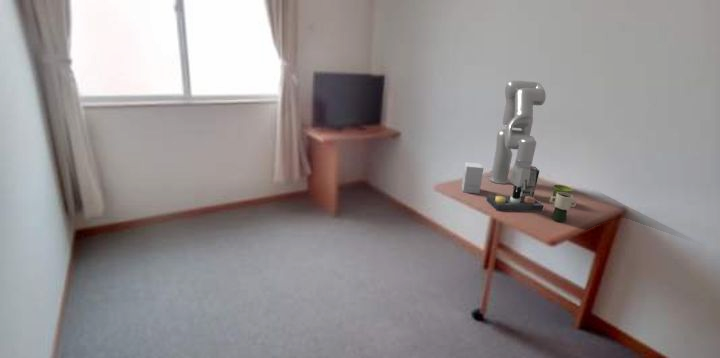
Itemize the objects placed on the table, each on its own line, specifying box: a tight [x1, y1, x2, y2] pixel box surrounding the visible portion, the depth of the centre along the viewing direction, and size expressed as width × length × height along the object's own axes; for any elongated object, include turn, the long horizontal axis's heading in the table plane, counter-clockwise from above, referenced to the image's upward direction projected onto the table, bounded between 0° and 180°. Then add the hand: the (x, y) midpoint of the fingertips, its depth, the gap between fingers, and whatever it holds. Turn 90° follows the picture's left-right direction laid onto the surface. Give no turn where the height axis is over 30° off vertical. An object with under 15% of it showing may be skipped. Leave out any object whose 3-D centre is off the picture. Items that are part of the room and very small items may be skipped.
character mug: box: [549, 192, 577, 223], centre depth 175 cm, size 11×7×13 cm, turn 71°
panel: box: [486, 195, 544, 212], centre depth 190 cm, size 12×24×3 cm, turn 96°
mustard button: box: [495, 195, 506, 203], centre depth 189 cm, size 5×5×4 cm
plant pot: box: [552, 184, 573, 201], centre depth 197 cm, size 9×9×9 cm
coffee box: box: [520, 165, 540, 197], centre depth 203 cm, size 9×6×16 cm
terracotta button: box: [524, 196, 537, 203], centre depth 191 cm, size 5×5×4 cm
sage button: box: [510, 195, 521, 203], centre depth 190 cm, size 5×5×4 cm
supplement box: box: [461, 161, 484, 195], centre depth 206 cm, size 9×9×15 cm
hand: (515, 198), depth 189 cm, fingers closed
